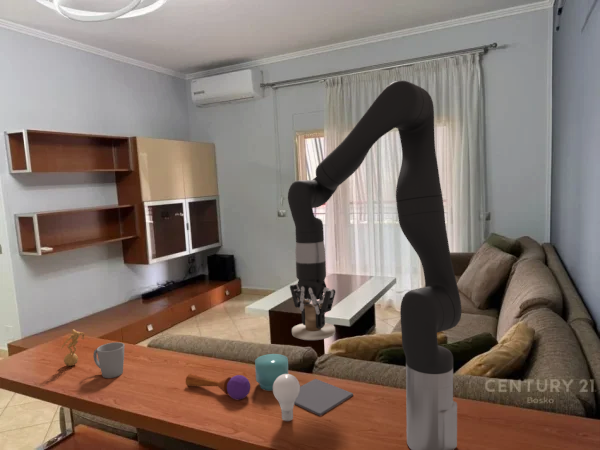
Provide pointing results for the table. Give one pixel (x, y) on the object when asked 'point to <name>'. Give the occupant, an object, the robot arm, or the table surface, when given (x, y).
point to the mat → (320, 396)
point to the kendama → (223, 385)
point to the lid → (312, 327)
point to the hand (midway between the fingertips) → (313, 325)
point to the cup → (110, 359)
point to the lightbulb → (286, 394)
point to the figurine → (71, 357)
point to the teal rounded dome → (270, 369)
